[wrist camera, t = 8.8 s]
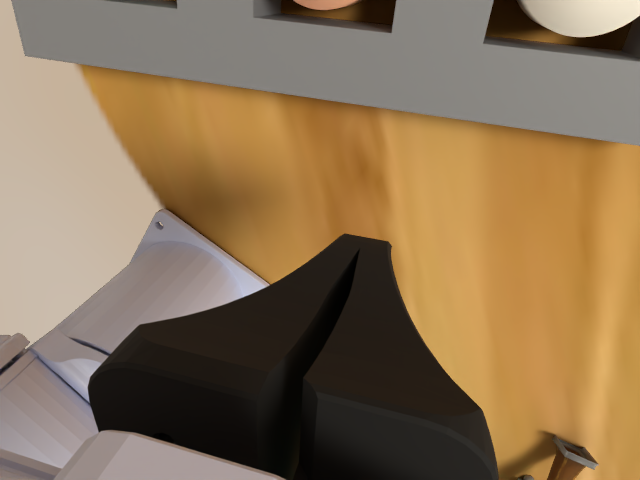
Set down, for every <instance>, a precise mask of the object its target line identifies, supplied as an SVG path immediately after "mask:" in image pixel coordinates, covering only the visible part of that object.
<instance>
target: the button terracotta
mask: <svg viewBox="0 0 640 480" xmlns="http://www.w3.org/2000/svg"><path fill="white" fill-rule="evenodd" d="M294 1H295V2H296V3H298V4H300V5H302V6H305V7H308V8H311V9H316V10H330V9H336V8H341V7H346V6H351V5H354V4H357V3H359V2H362V1H363V0H294Z"/></svg>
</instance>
